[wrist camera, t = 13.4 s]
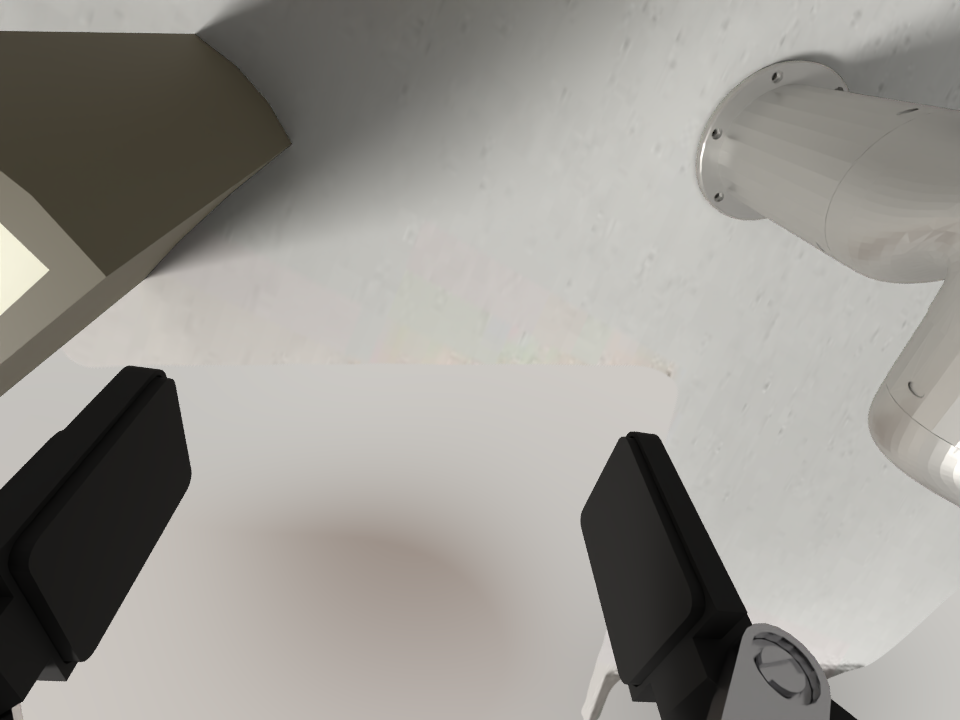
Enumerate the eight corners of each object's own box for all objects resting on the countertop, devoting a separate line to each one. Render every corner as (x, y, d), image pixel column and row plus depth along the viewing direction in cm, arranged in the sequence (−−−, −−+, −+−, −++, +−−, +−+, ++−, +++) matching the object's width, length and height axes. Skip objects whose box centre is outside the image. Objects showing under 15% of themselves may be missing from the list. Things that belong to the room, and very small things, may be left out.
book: (204, 26, 36) (-233, 5, 12) (300, 136, 40) (110, 271, 17) (44, 201, 42) (-452, 406, 18) (143, 280, 46) (-156, 523, 23)
